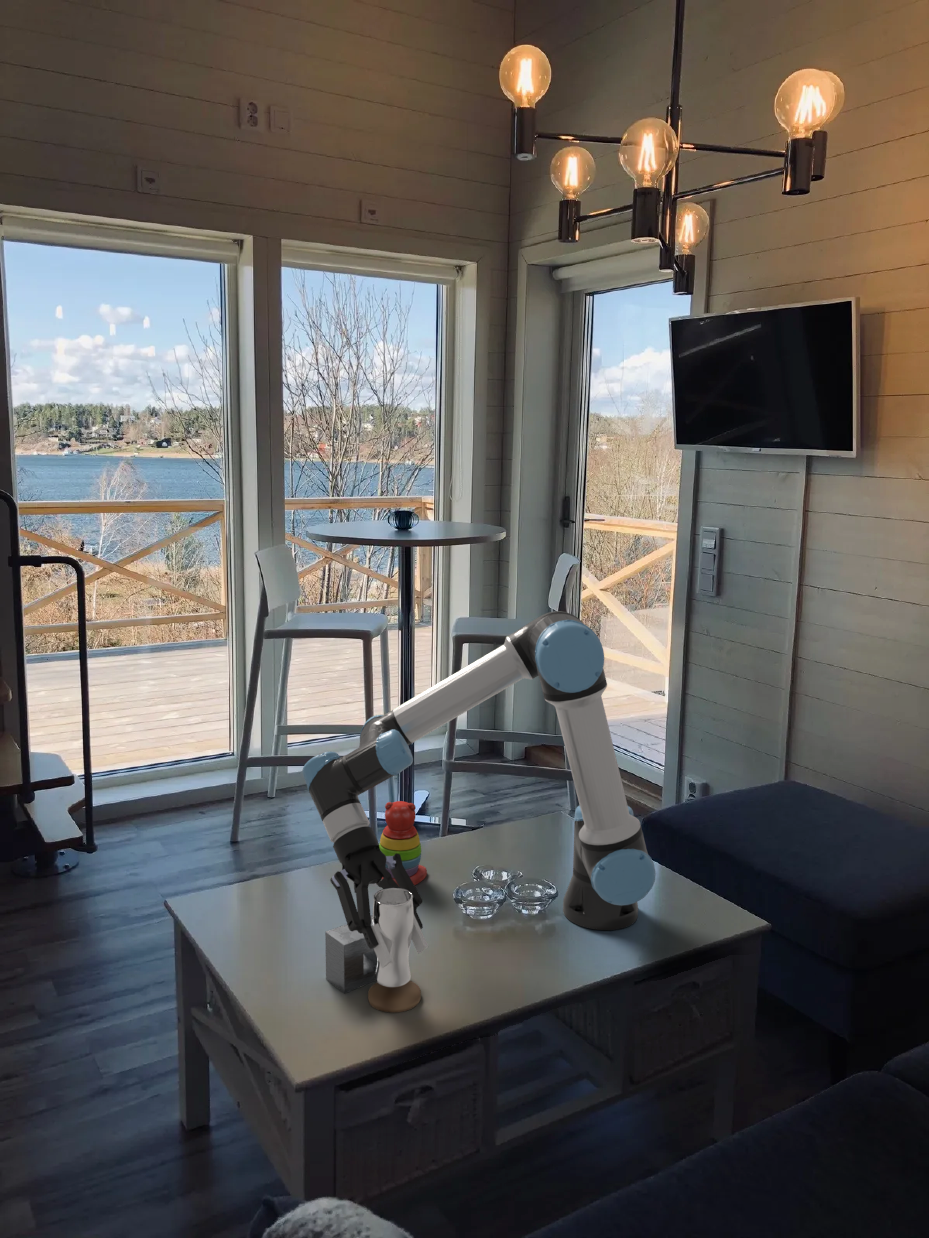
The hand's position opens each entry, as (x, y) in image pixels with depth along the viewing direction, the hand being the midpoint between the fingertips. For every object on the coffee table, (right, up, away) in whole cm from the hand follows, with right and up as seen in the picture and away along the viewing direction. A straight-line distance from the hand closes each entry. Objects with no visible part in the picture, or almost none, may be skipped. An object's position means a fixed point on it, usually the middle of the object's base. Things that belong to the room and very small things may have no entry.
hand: (405, 956), depth 162 cm
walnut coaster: (-2, -8, +4) cm, 10 cm away
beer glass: (-2, -5, +4) cm, 7 cm away
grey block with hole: (-8, -7, +11) cm, 16 cm away
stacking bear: (-4, -1, +50) cm, 51 cm away
